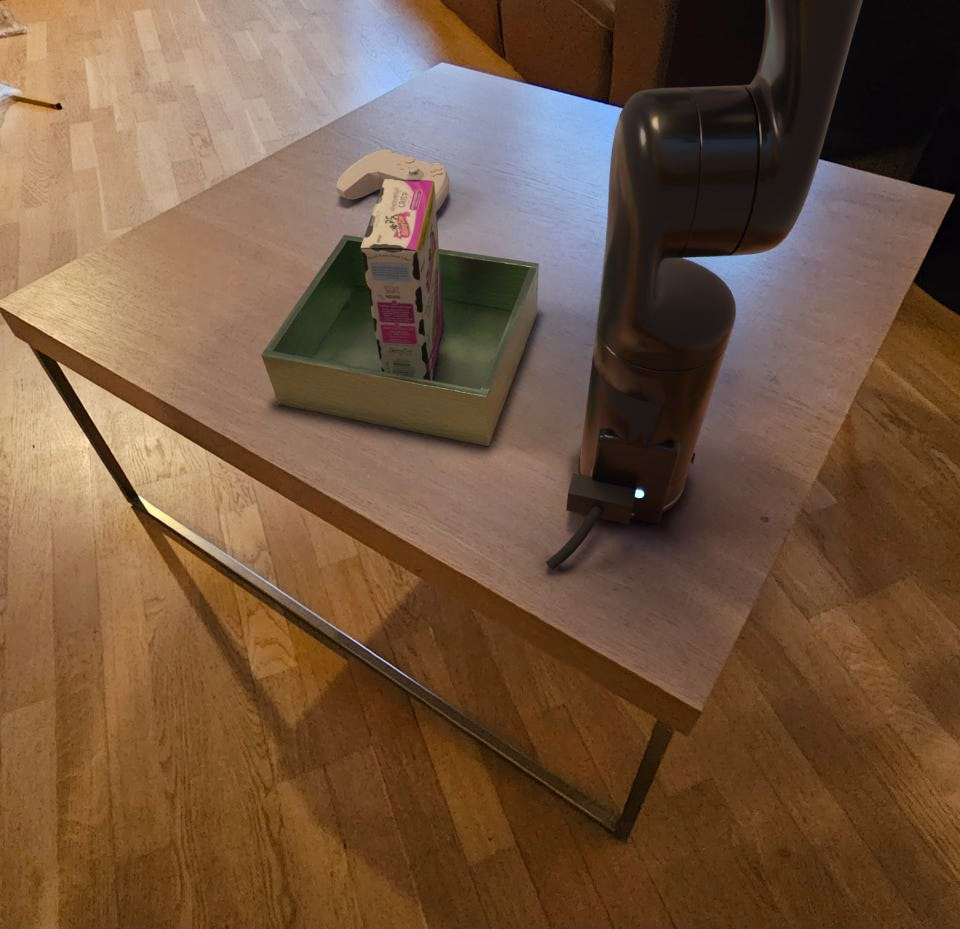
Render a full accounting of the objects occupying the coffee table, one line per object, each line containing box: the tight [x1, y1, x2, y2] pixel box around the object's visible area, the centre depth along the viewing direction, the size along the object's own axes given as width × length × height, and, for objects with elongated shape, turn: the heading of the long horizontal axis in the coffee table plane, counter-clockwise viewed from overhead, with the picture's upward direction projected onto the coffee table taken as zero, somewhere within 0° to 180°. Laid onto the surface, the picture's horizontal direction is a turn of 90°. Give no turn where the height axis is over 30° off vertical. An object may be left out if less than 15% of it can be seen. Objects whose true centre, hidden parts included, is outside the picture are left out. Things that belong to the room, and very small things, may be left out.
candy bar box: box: [361, 179, 444, 380], centre depth 68 cm, size 11×5×16 cm, turn 175°
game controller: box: [335, 148, 450, 213], centre depth 92 cm, size 14×4×10 cm
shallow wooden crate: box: [260, 234, 540, 447], centre depth 72 cm, size 20×22×7 cm
